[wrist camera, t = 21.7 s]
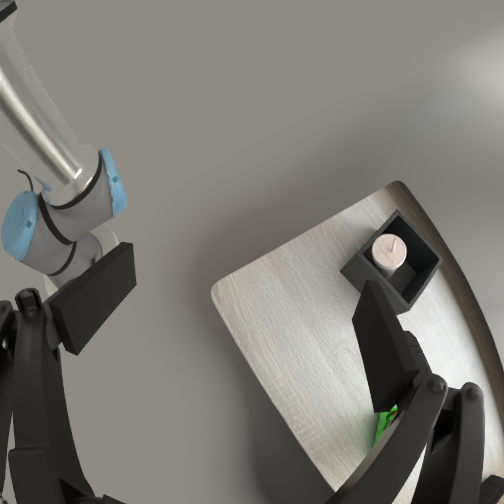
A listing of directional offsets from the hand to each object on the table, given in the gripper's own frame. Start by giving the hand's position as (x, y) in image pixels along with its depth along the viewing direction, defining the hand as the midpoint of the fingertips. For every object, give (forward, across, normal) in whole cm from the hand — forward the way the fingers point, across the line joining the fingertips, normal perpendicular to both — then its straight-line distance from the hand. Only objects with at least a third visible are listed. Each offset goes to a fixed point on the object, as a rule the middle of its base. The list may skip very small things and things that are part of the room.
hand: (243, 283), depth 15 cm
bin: (+36, +25, -15) cm, 46 cm away
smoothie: (+35, +25, -14) cm, 45 cm away
